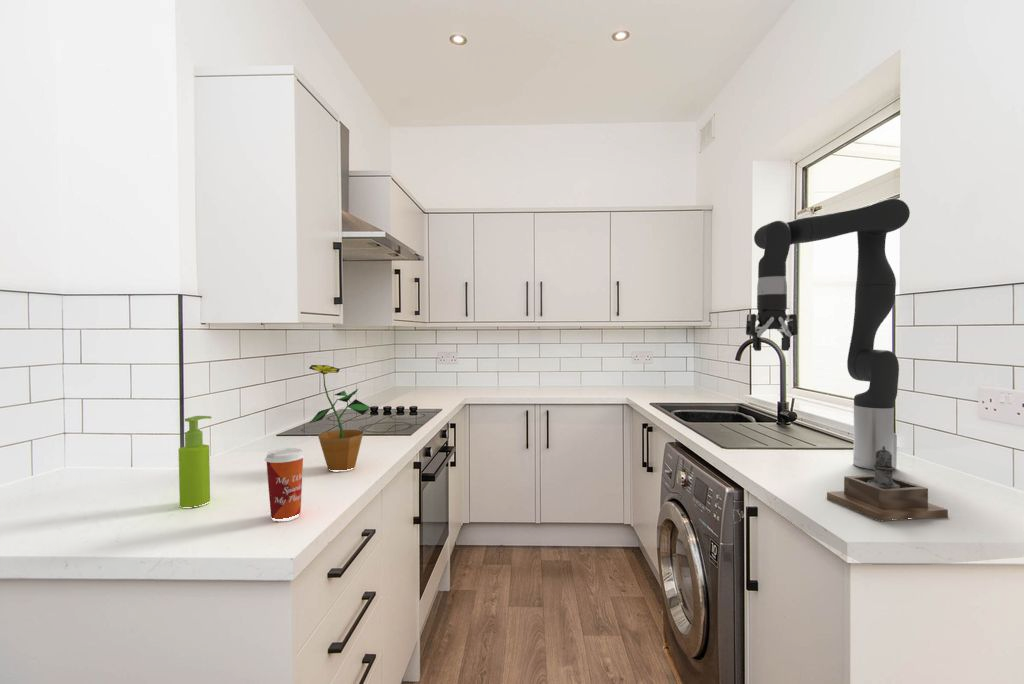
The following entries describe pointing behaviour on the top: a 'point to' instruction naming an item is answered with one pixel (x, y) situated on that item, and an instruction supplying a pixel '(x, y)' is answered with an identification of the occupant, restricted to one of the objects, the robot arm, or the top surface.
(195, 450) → the soap dispenser
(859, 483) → the stand
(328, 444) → the potted plant
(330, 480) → the top surface
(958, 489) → the top surface
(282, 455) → the paper cup
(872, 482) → the salt shaker
